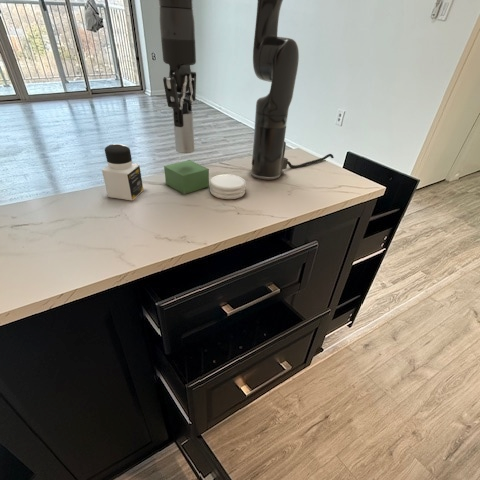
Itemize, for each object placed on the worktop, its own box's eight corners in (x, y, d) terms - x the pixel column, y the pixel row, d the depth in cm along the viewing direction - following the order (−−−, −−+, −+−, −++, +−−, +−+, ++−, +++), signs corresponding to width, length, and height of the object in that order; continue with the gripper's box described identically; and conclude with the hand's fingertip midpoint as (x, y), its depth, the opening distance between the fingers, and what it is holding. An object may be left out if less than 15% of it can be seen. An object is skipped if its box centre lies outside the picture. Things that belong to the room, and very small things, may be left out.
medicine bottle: (132, 201, 84) (123, 152, 76) (107, 197, 85) (95, 148, 76) (144, 190, 89) (136, 143, 81) (120, 187, 90) (110, 140, 81)
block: (190, 177, 98) (189, 159, 94) (209, 186, 93) (208, 168, 90) (165, 184, 93) (163, 166, 90) (184, 194, 89) (182, 175, 85)
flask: (187, 146, 89) (184, 99, 81) (198, 151, 87) (196, 103, 79) (172, 149, 86) (167, 101, 79) (183, 154, 84) (179, 105, 76)
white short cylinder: (225, 203, 86) (225, 190, 83) (203, 191, 91) (202, 178, 88) (252, 194, 91) (253, 181, 88) (229, 183, 96) (229, 171, 93)
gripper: (180, 39, 65) (185, 132, 77) (205, 36, 75) (207, 120, 86) (146, 36, 66) (157, 128, 78) (176, 34, 76) (181, 116, 88)
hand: (183, 123), depth 82 cm, fingers closed on flask, 5 cm apart
